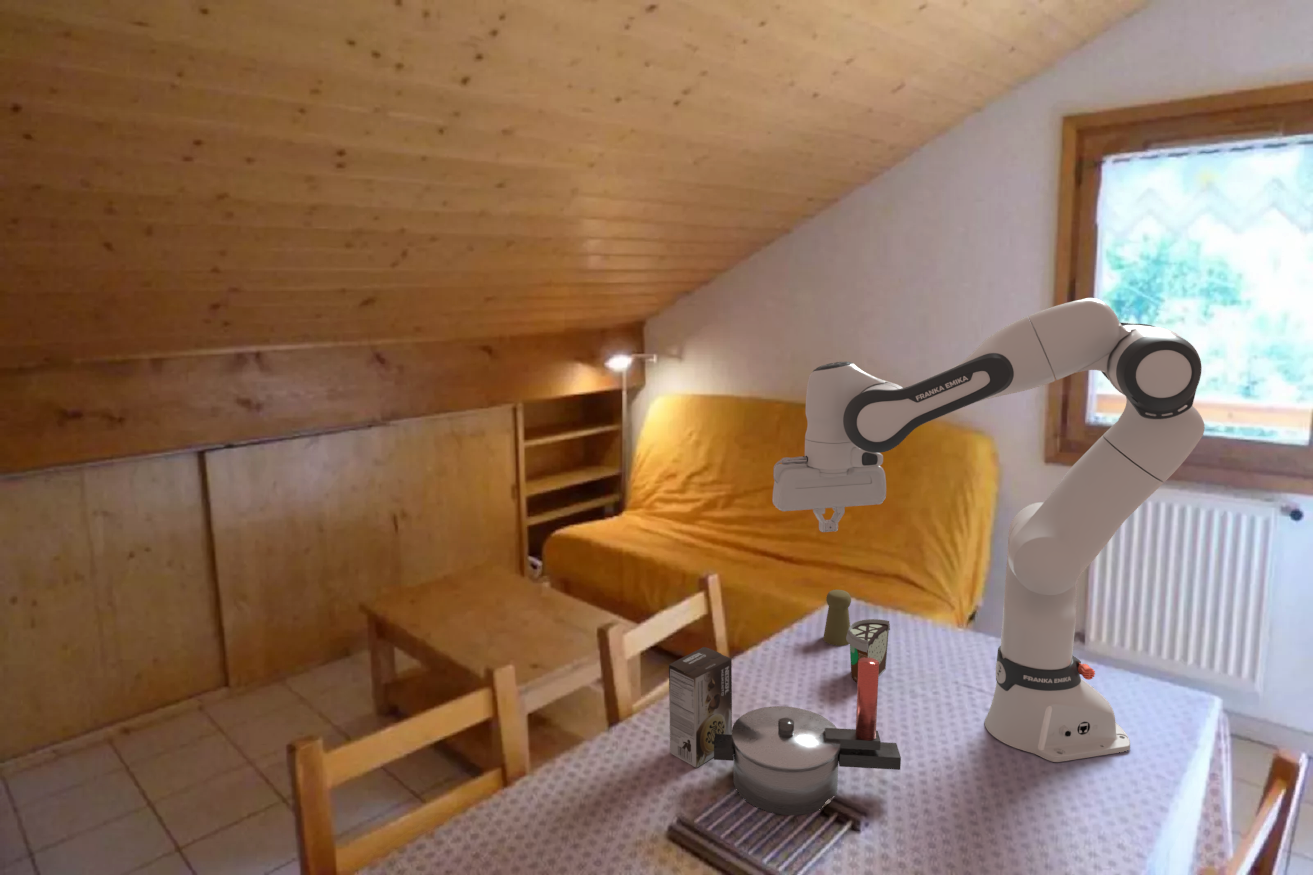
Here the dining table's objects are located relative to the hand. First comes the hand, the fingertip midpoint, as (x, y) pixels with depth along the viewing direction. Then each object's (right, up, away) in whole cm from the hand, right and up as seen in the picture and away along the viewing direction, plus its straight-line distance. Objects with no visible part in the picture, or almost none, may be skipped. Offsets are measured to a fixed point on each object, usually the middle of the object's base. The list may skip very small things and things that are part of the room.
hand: (828, 530), depth 147 cm
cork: (+9, -28, +32) cm, 43 cm away
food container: (+10, -31, +17) cm, 36 cm away
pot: (-8, -37, -18) cm, 42 cm away
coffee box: (-23, -36, -9) cm, 44 cm away
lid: (-8, -30, -20) cm, 37 cm away
